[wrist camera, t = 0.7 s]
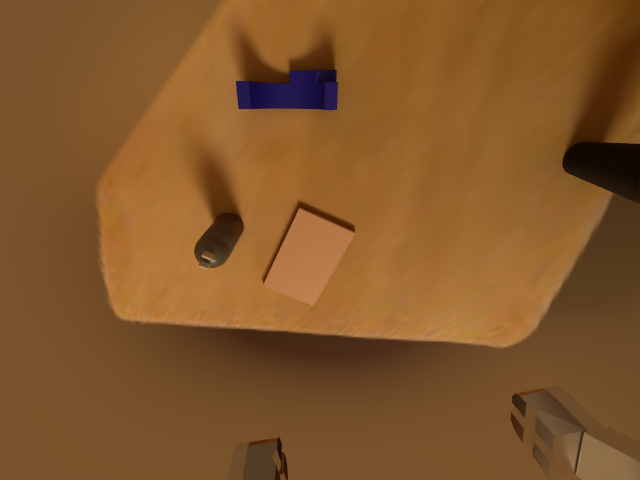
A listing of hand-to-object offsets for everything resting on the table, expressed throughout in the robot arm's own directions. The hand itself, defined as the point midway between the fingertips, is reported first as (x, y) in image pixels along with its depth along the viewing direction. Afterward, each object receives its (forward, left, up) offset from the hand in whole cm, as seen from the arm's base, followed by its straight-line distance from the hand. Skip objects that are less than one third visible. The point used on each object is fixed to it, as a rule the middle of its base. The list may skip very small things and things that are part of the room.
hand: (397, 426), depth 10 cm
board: (+15, +2, -39) cm, 42 cm away
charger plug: (+15, -12, -39) cm, 44 cm away
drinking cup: (-18, +32, -40) cm, 54 cm away
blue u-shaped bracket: (-8, -10, -40) cm, 42 cm away
